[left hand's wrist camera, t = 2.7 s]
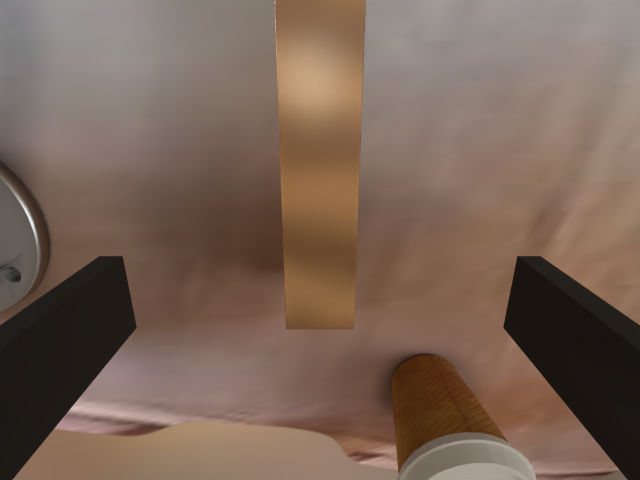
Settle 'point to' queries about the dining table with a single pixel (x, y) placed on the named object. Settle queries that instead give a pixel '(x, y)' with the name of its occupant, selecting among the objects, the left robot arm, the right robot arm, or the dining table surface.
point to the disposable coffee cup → (447, 428)
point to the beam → (320, 156)
